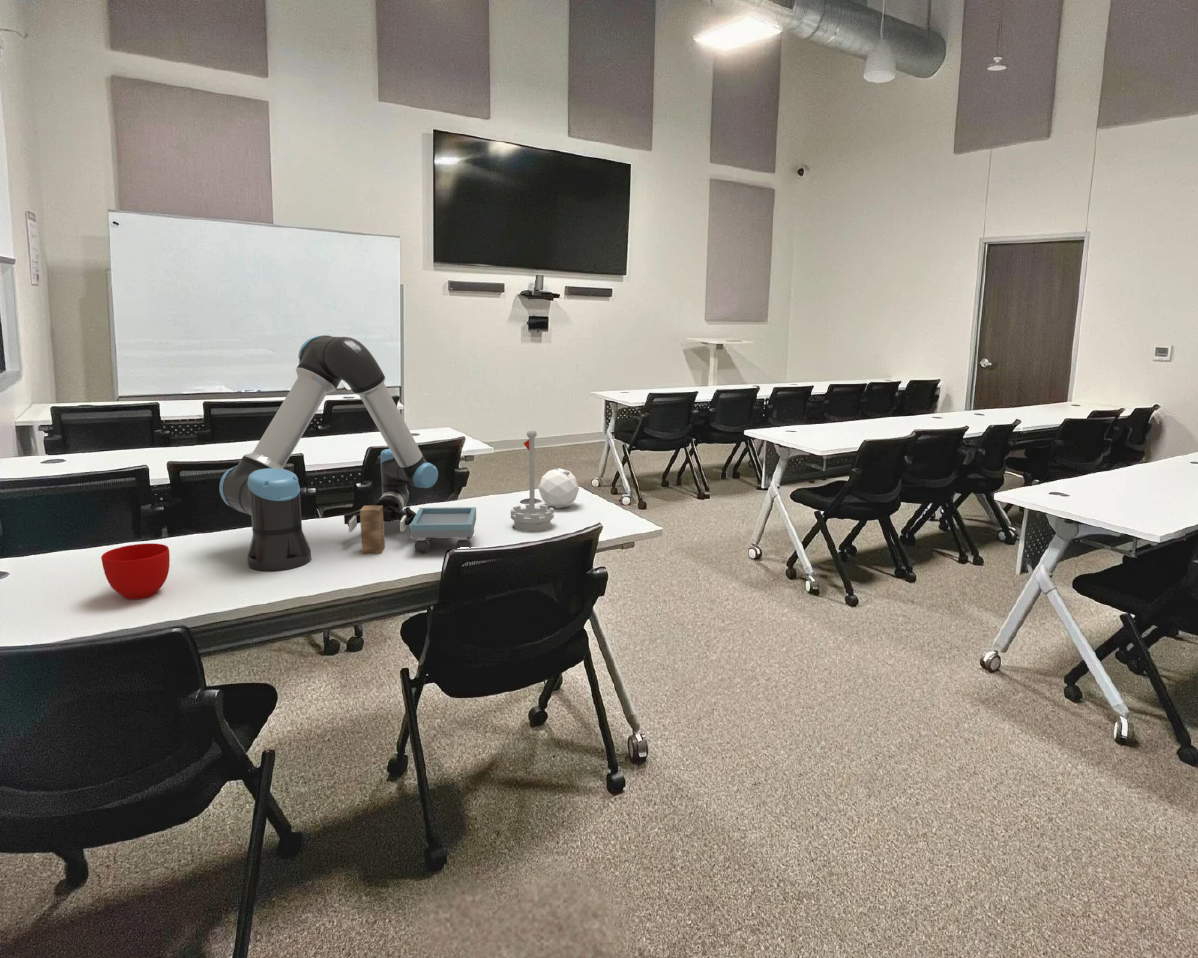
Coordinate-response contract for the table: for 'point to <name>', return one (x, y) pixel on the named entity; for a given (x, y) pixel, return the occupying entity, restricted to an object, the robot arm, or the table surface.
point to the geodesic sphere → (558, 488)
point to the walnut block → (372, 529)
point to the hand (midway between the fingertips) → (375, 526)
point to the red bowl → (137, 569)
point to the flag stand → (532, 500)
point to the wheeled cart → (443, 525)
